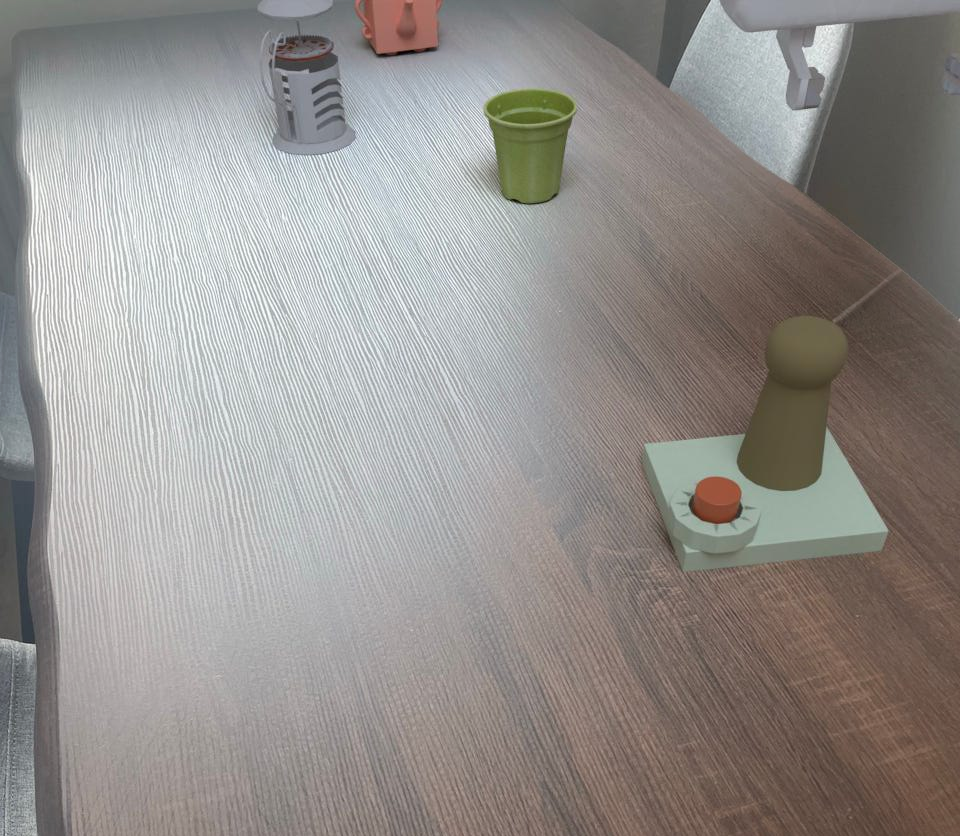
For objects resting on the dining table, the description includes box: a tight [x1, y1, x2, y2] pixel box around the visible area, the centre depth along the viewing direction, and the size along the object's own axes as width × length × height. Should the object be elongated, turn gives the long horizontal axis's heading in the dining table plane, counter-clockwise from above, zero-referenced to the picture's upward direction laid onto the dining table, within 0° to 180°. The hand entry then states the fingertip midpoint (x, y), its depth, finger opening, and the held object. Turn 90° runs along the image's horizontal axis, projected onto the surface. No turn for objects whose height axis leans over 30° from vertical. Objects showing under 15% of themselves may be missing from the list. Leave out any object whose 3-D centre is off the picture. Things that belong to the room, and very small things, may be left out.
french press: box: [257, 0, 356, 156], centre depth 110 cm, size 10×12×25 cm
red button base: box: [641, 426, 890, 573], centre depth 72 cm, size 14×12×4 cm
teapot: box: [354, 0, 443, 56], centre depth 136 cm, size 12×15×8 cm
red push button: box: [692, 476, 742, 524], centre depth 68 cm, size 3×3×2 cm
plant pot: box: [482, 88, 578, 204], centre depth 106 cm, size 9×9×9 cm
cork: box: [737, 315, 849, 491], centre depth 70 cm, size 6×6×11 cm
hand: (879, 98), depth 60 cm, fingers open, 8 cm apart
